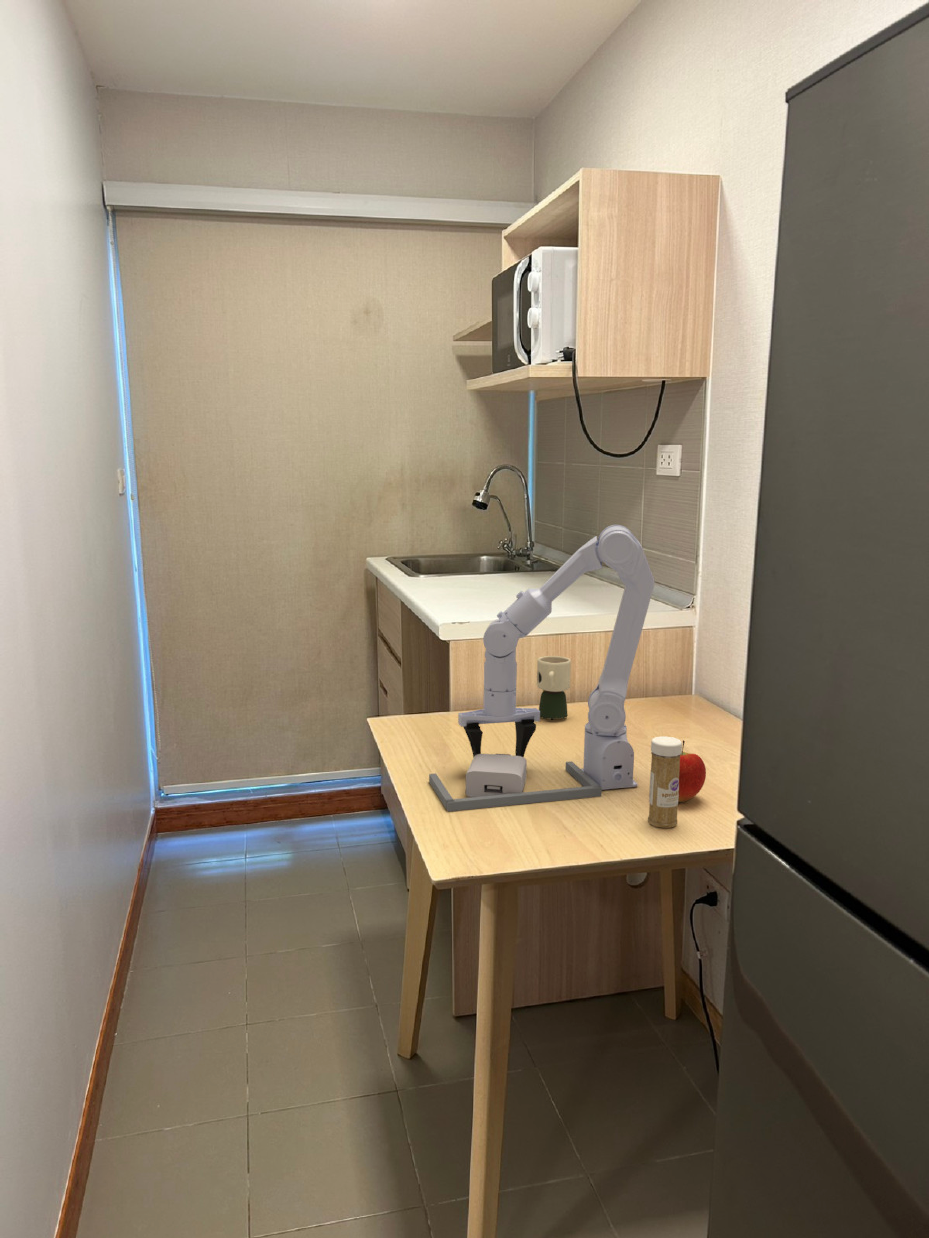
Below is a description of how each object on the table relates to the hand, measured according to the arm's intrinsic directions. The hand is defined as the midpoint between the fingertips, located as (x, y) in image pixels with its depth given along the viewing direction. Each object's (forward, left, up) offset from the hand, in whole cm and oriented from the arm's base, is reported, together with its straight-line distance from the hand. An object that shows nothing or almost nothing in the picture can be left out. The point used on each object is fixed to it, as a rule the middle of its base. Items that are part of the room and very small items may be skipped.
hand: (498, 761), depth 159 cm
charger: (-5, +1, -2) cm, 6 cm away
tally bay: (-7, 0, -2) cm, 8 cm away
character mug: (+29, -21, -2) cm, 36 cm away
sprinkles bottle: (-27, -18, -2) cm, 33 cm away
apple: (-19, -25, -2) cm, 32 cm away
